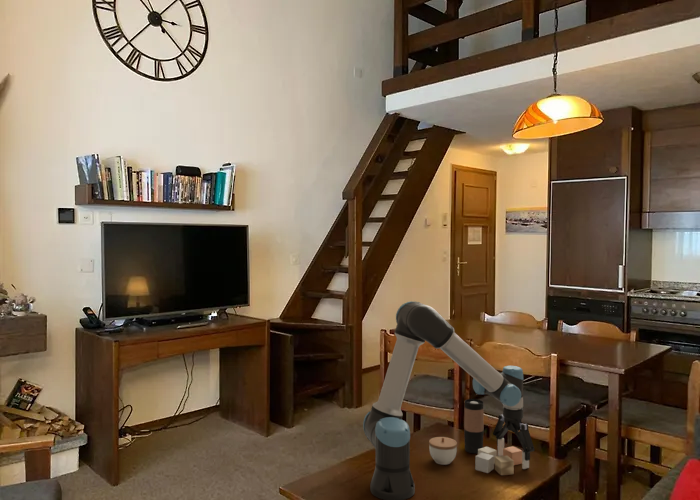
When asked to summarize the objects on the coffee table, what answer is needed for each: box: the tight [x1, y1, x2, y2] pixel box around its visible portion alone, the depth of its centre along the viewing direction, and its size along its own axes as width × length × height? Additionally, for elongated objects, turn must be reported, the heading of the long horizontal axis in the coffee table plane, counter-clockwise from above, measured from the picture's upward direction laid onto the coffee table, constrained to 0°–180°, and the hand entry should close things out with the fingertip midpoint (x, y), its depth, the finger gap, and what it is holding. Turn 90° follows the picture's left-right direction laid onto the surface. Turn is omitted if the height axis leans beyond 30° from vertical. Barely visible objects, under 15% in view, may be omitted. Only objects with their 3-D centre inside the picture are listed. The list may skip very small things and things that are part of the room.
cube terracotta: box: [502, 446, 523, 466], centre depth 212 cm, size 5×5×5 cm
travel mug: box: [463, 398, 485, 454], centre depth 223 cm, size 8×8×20 cm
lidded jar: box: [428, 436, 458, 466], centre depth 212 cm, size 11×11×9 cm
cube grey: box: [474, 452, 495, 474], centre depth 205 cm, size 5×5×5 cm
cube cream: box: [477, 446, 498, 465], centre depth 211 cm, size 5×5×5 cm
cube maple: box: [494, 455, 515, 476], centre depth 203 cm, size 5×5×5 cm
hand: (512, 461), depth 212 cm, fingers open, 13 cm apart
